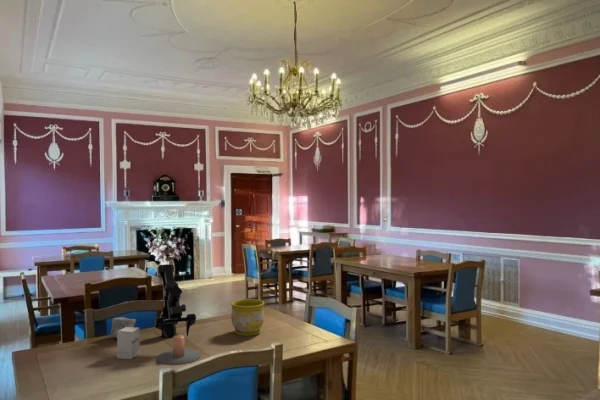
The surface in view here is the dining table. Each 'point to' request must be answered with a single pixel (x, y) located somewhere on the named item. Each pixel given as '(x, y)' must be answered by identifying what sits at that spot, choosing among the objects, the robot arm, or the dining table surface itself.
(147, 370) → the dining table surface
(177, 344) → the salt shaker
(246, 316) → the flowerpot
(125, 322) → the incense holder
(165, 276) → the robot arm
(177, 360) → the mat
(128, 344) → the supplement box
